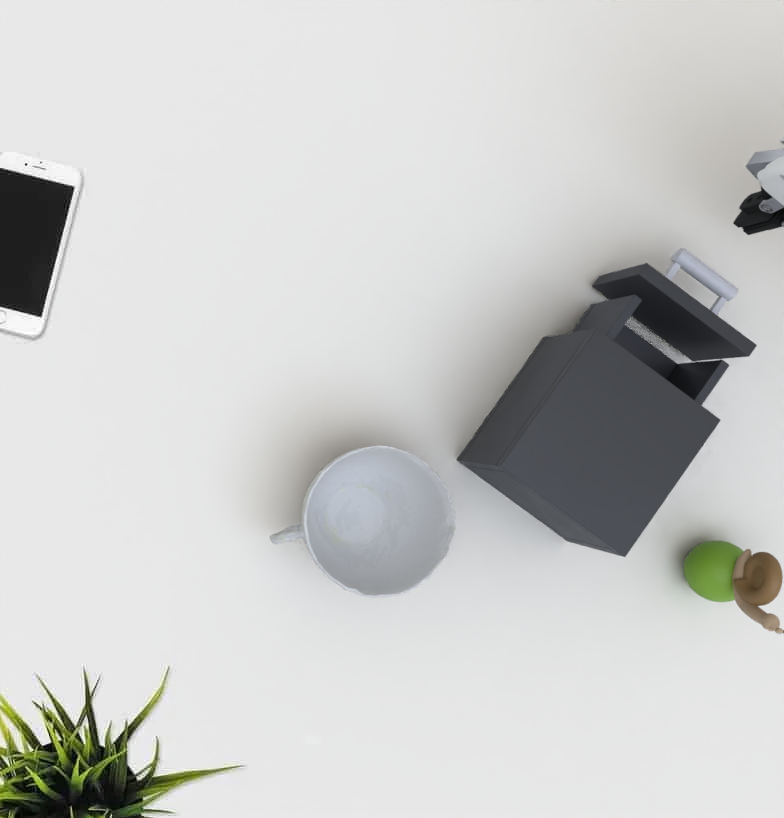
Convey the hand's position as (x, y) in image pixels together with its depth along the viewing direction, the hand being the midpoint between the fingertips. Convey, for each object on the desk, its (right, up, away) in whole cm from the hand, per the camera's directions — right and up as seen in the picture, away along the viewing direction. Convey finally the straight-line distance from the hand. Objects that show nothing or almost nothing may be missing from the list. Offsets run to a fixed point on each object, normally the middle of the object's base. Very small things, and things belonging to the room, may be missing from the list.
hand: (749, 215), depth 85 cm
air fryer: (-14, -19, +6) cm, 25 cm away
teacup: (-34, -26, +5) cm, 43 cm away
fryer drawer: (-8, -11, +6) cm, 15 cm away
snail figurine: (0, -31, +7) cm, 32 cm away
